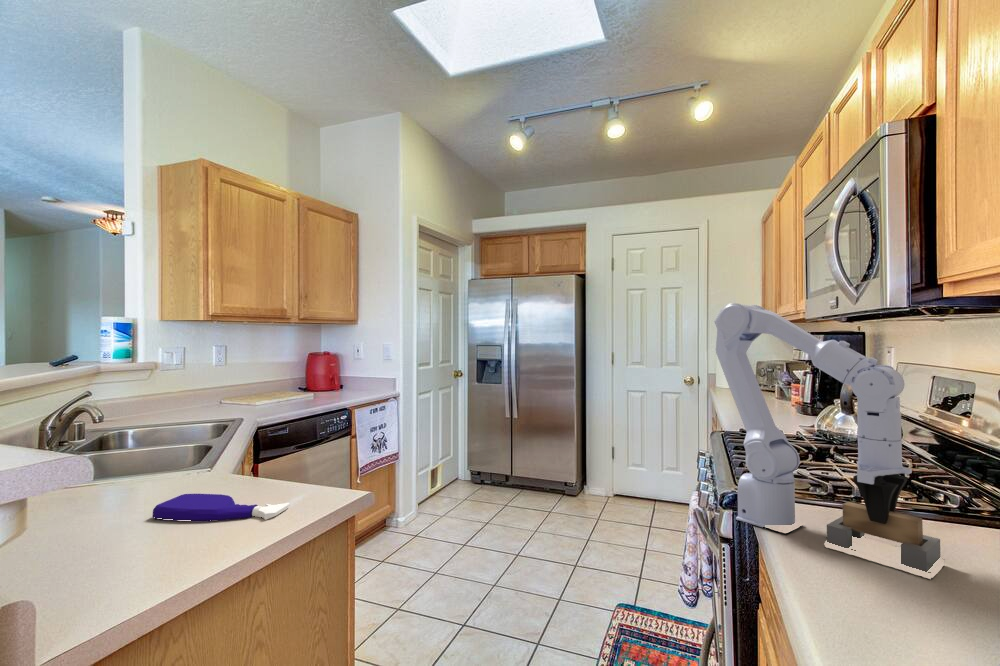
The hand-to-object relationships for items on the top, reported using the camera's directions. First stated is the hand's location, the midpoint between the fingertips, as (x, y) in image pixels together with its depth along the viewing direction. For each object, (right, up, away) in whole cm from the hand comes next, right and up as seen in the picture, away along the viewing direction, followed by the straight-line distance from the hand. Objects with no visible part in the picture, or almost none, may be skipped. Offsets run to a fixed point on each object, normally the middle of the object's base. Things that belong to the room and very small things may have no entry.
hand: (881, 520), depth 78 cm
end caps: (0, -6, 0) cm, 6 cm away
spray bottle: (-121, -7, +19) cm, 123 cm away
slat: (0, -3, 0) cm, 2 cm away
